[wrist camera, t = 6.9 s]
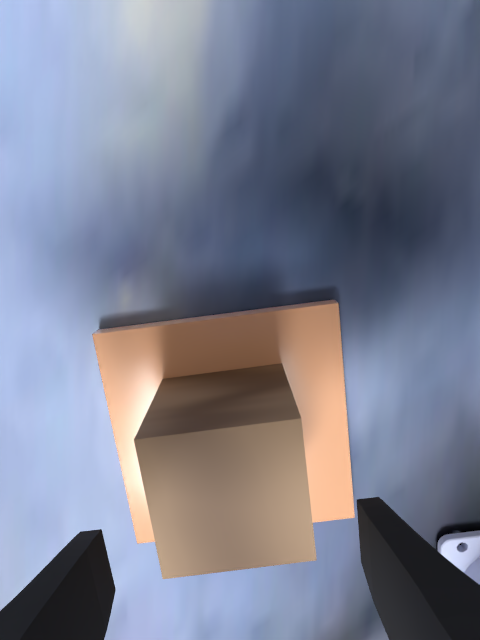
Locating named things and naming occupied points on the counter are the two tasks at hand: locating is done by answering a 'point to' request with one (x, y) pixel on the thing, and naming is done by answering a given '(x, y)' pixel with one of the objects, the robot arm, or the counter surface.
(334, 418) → the plate
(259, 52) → the counter surface
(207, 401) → the cube
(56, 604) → the robot arm
